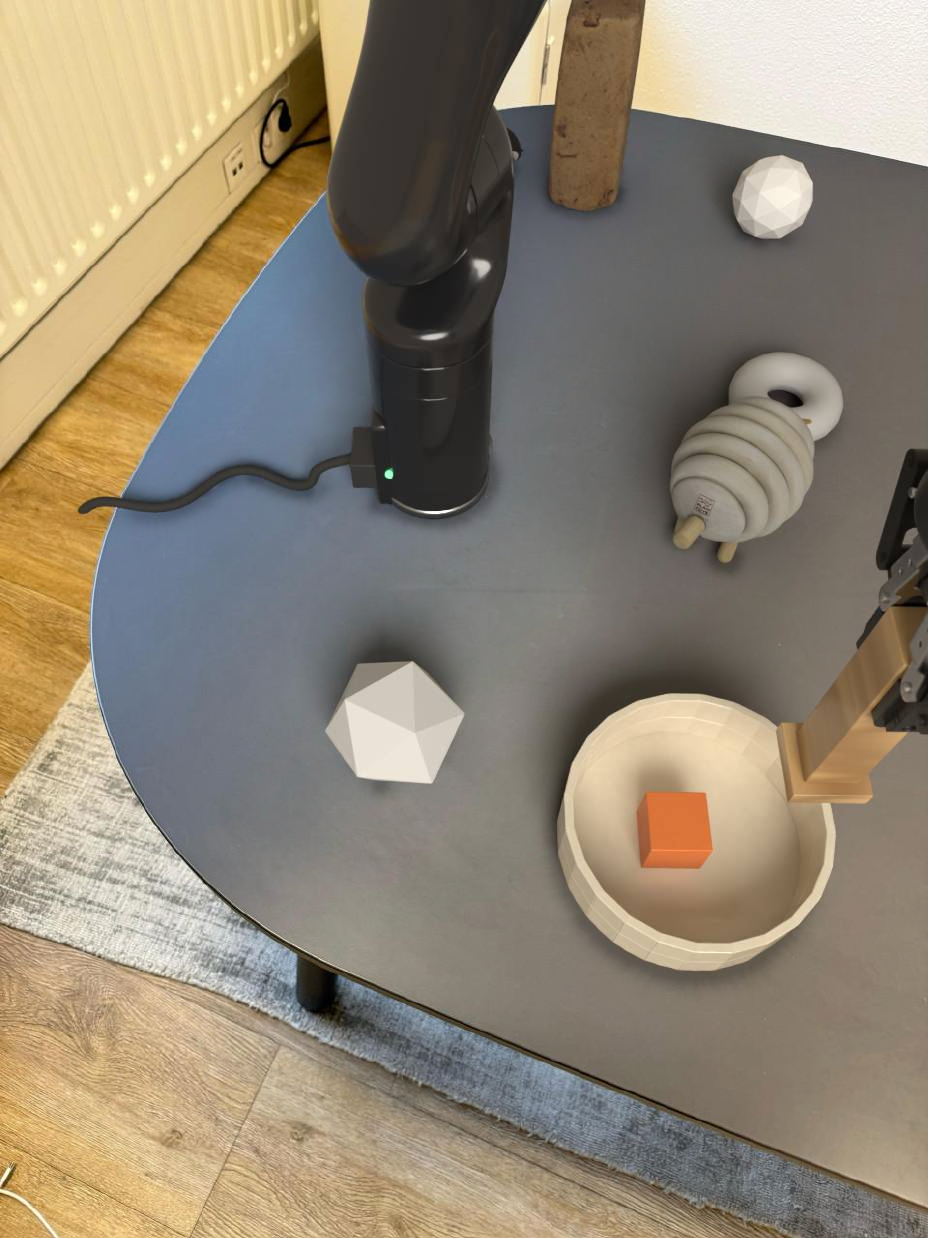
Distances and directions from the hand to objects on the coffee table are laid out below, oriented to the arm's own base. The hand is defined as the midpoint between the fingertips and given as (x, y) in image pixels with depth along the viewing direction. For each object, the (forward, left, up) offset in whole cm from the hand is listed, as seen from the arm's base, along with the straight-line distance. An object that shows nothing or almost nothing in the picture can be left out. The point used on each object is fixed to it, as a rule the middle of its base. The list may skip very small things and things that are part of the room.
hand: (885, 686), depth 46 cm
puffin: (-22, +71, -21) cm, 77 cm away
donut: (+8, +40, -24) cm, 48 cm away
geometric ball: (+10, +65, -24) cm, 70 cm away
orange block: (-6, 0, -24) cm, 24 cm away
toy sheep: (+1, +28, -24) cm, 37 cm away
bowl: (-5, 0, -24) cm, 25 cm away
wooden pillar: (0, 0, -10) cm, 10 cm away
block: (-8, +72, -24) cm, 76 cm away
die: (-25, +7, -24) cm, 36 cm away
